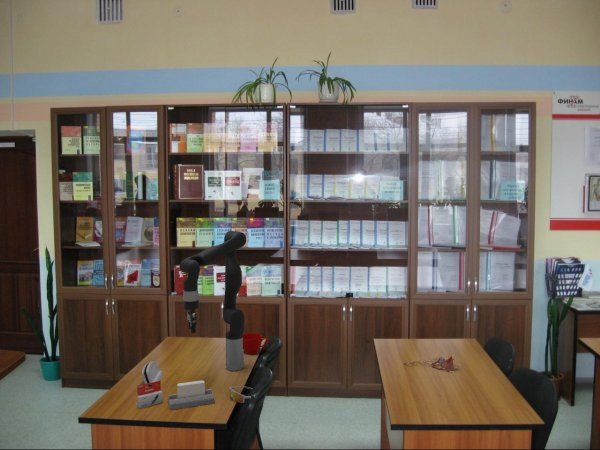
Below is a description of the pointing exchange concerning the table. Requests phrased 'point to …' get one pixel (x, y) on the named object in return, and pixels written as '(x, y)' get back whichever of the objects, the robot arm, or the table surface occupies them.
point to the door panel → (191, 389)
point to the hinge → (151, 373)
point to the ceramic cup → (252, 342)
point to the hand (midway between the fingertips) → (192, 330)
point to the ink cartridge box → (149, 394)
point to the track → (190, 400)
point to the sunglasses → (238, 395)
